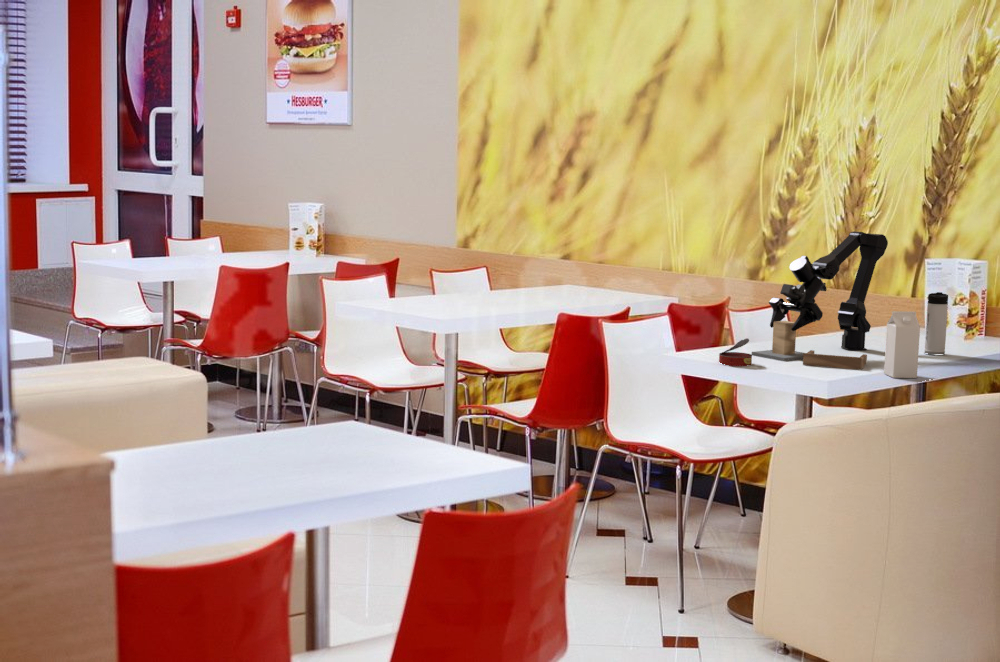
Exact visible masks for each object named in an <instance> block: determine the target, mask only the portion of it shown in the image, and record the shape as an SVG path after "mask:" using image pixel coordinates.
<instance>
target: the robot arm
mask: <svg viewBox="0 0 1000 662" xmlns="http://www.w3.org/2000/svg"><path fill="white" fill-rule="evenodd" d="M888 244H889V240H888V239H887V237H886V235H884V234H881V233H869V232H868V233H866V232H864V231H857V230H856V231H855V230H854V231H850V233H849V234H848V236H846V238H845V239H844V240H843V241H842V242H840V243H839V244H838V245H837V246H836V247H835V248H834V249H833V250H832V251H831V252H830V253H828V254H827V255H824V256H821V257H819V258H818V259H816V260H814V262H812V263H811V261H810V259H809V257H808V255H801V256H800V257H799V258H796V259H795V260H793V261H791V263H790V264H789V270H790V271H791V273H792V274H793V276H794V277H795V278H796V280H797V281H798V282H799V283H802V284H797V285H794V284H788V283H782V286H781V289H780V291H779V292H780V294H781V295H783V296H785V297H786V298H785V299H786V301H787V303H786V301H785V299H783V298H780V297H771V299H770V300H769V302H768V304H769V305H770V307H771V309H772V316H771V320H770V323H769V327H770V328H772V329H773V323H774V322H775V321H783V320H784V319H785V318H786V315H787V314H788V313H789V311H791V312H792V311H793V312H796V313H799V316H798V317H797V319H796V320H795V321H794V322H795V323H794V325H793V326H792V328H791V330H792V331H795V330H796V331H798V330H799V329H801V328H803V327H805V326H807V325H809V324H812V323H815V322H818V321H819V322H820V320H821V319H822V317H823V313H824V312H823V311H822V310H821V308H820V306H819V305H818V304H817V303H816V299H815V298H816V297H817V295H818V294H819V292H827V286H826V282H823V280H832V279H834V278H835V277H836V276H837V274H838V273H839V271H840V266H841V265H842V264H843V262H845V261H846V260H847V259H848V258H849V257H850V256H851V255H852V254H853V253H854V252H855V251H857V249H858V248H859V253H860V257H861V258H860V262H859V265H858V268H857V271H856V272H857V273H856V276H855V278H854V282H853V285H852V289H851V290H850V295H849V298H848V299H847V300H846V301H841V303H840V304H839V305H840V306H839V309H838V311H837V320H838V321H837V322H838V325H839V329H840V330H842V331H843V334H842V335H841V346H840V348H841V349H844V350H847V351H867V349H868V348H865V345H866V344H865V343H866V333H869V332H870V329H871V324H870V323H869V321H868V319H867V318H866V316H867V315H866V314H867V309H866V305H865V301H866V298H867V294H868V291H869V289H870V284H871V281H872V278H873V274H874V271H875V268H876V265H877V262H878V261H879V260H880V259H881V258H882V257H883V256H884V255H885V252H886V250H887V248H888ZM788 302H789V303H788Z"/></svg>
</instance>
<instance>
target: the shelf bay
mask: <svg viewBox="0 0 1000 662" xmlns="http://www.w3.org/2000/svg"><path fill="white" fill-rule="evenodd" d="M803 353H804V354H803V359H802V366H809V367H810V366H811V367H823V368H824V367H825V368H836V369H846V370H847V369H849V370H859V369H861V370H862V369H863V368H864V367H865V366H867V364H868V362H867V361H868V354H864V353H863V354H862V355H861V356H859V357H858V356H847V355H846V356H845V355H834V354H822V353H821V354H820V353H815V350H813V349H810V350H809V351H808V352H803Z"/></svg>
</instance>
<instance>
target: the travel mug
mask: <svg viewBox="0 0 1000 662" xmlns="http://www.w3.org/2000/svg"><path fill="white" fill-rule="evenodd" d="M927 296H928V297H927V307H926V308H927V310H926V324H925V325H926V326H925V337H924V338H925V340H924V354H925V353H928V354H944V355H945V352H946V340H947V339H946V337H947V323H948V311H949V310H948V307H949V302H948V301H949V294H947V293H943V292H940V291H939V292H937V291H936V292H932V293H929V294H927Z"/></svg>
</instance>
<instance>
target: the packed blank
mask: <svg viewBox="0 0 1000 662" xmlns="http://www.w3.org/2000/svg"><path fill="white" fill-rule="evenodd" d="M795 322H796V321H789V320H781V321H775V322H774V323H773V327H772V346H771V347H772V349H771V350H772V353H776V354H781V355H788V354H795V351H796V338H797V337H796V336H797V330H795V331H792V330H791V328H792V326H793V325H794V323H795Z"/></svg>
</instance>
